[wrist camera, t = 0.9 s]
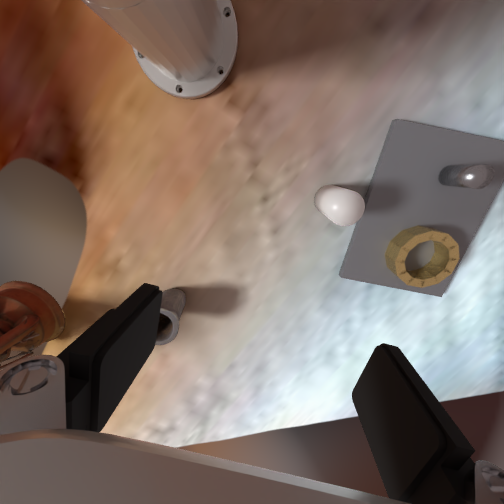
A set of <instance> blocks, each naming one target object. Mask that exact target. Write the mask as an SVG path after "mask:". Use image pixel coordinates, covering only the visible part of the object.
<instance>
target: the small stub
mask: <svg viewBox="0 0 504 504" xmlns="http://www.w3.org/2000/svg"><path fill="white" fill-rule="evenodd" d="M494 175H495V171H494V169H493V167H492V166H490V165H448V166H446V167H444V168H443V169H442V170H441V171H440V173H439V176H438V179H439V182H440V183H441V184H442V185H444V186H453V187H462V188H471V189H482V188H485V187H487V186H488V185H489V184H490V183H491V182H492V180H493V178H494Z"/></svg>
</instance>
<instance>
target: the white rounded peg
mask: <svg viewBox="0 0 504 504" xmlns="http://www.w3.org/2000/svg"><path fill="white" fill-rule="evenodd" d="M314 203H315V206H316V208H317V209H318V210H319V211H320V212H322V213H323V214H324V215H325V216H326V217H328V218H329V219H330V220H331V221H332V222H334V223H335V224H337V225H339V226H349V225H352V224H354V223H356V222H357V221H358V220H359V219H360V218H361V217H362V215H363V213H364V210H365V202H364V199H363V198H362V196H361V195H360V194H359V193H357V192H355V191H352V190H349V189H345V188H342V187H338V186H334V185H325V186H323V187H321V188H320V189H319V190H318V191H317V192H316V194H315V198H314Z"/></svg>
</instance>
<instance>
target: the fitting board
mask: <svg viewBox="0 0 504 504" xmlns="http://www.w3.org/2000/svg"><path fill="white" fill-rule="evenodd" d="M448 165H490V166H492V167H493V169H494V171H495V175H494V178H493V180H492V182H491V183H490V184H489V185H488V186H487V187H485V188H482V189H471V188H462V187H453V186H444V185H442V184H441V183H440V182H439V179H438V176H439V173H440V171H441V170H442V169H443V168H444V167H446V166H448ZM503 181H504V141H502V140H497V139H492V138H487V137H482V136H477V135H472V134H468V133H463V132H458V131H453V130H448V129H443V128H438V127H433V126H428V125H424V124H419V123H414V122H409V121H404V120H399V119H396V120H393V121H392V123H391V126H390V128H389V131H388V134H387V137H386V140H385V143H384V146H383V149H382V151H381V154H380V157H379V160H378V163H377V166H376V169H375V172H374V174H373V177H372V180H371V183H370V186H369V189H368V192H367V195H366V197H365V200H364V202H365V210H364V213H363V215H362V217H361V218H360V219H359V220H358V221H357V223H356V226H355V229H354V232H353V235H352V238H351V241H350V243H349V246H348V249H347V252H346V255H345V258H344V261H343V264H342V266H341V269H340V272H339V275H340V277H341V278H346V279H351V280H356V281H361V282H367V283H372V284H377V285H382V286H387V287H392V288H398V289H403V290H408V291H413V292H418V293H424V294H429V295H434V296H439V297H442V295H443V293H444V291H445V289H446V288H447V286H448V284H449V282H450V280H451V278H452V276H453V274H454V273H455V271H456V269H457V267H458V265H459V263H460V261H461V259H462V258H463V256H464V254H465V252H466V250H467V248H468V246H469V244H470V243H471V241H472V239H473V237H474V235H475V233H476V231H477V229H478V228H479V226H480V224H481V222H482V220H483V218H484V216H485V214H486V213H487V211H488V209H489V207H490V205H491V203H492V201H493V200H494V198H495V196H496V194H497V192H498V190H499V188H500V186H501V185H502V183H503ZM418 225H419V226H424V227H429V228H434V229H436V230H439V231H442V232H445V233H447V234H449V235H450V236H451V237H452V238H453V239H454V240H455V241H456V242H457V243H458V245H459V258H460V259H459V261H458V263H457V265H456V267H455V268H454V270H453V272H452V274H450V275H449V276H448V277H446V278H445V279H444V280H442V281H441V282H440V283H438V284H435V285H431V286H427V287H423V288H420V287H415V286H409V285H406V284H405V283H404V282H403V281H402V280H400V279H399V278H398V277H397V276H396V275H395V274H394V273H393V272H391V271H390V270H389V269H388V268H387V265H386V260H385V252H386V250H387V247H388V245H389V242H390V240H392V239H393V238H394V237H395V236H396V235H397V234H398V233H400V232H401V231H402V230H404V229H408V228H411V227H414V226H418ZM434 252H435V250H434V242H433V241H432V240H429V241H425V242H422V243H419V244H417V245H416V246H415V247H414V248H413V249H411V250H410V251H409V253H408V255H407V257H406V259H405V268H406V270H408V271H413V270H416V269H420V268H422V267H423V266H425V265H426V264H427V263H428V262H430V260H431V258H432V256H433V254H434Z"/></svg>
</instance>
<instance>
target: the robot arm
mask: <svg viewBox="0 0 504 504" xmlns="http://www.w3.org/2000/svg"><path fill="white" fill-rule="evenodd" d="M82 1H83V2H84V3H85V4H86V5H87V6H88V7H89V8H91V9H92V10H93V11H94V12H95V13H96V14H97V15H98V16H99V17H101V18H102V19H103V20H104V21H105V22H106V23H107V24H108V25H109V26H111V27H112V28H113V29H114V30H115V31H116V32H117V33H118V34H119V35H121V36H122V37H123V38H124V39H125V40H126V41H127V42H128V43H129V44H131V45H132V47H133V50H134V53H135V56H136V58H137V61H138V62H139V64H140V66H141V68H142V70H143V71H144V72H145V74H146V75H147V76H148V78H149V79H150V80H151V81H152V82H153V83H154V84H155V85H157V86H158V87H159V88H160V89H162V90H163V91H165V92H166V93H168V94H170V95H172V96H175V97H179V98H182V99H196V98H201V97H204V96H206V95H208V94H210V93H212V92H213V91H214V90H216V89H217V88H218V87H219V86H220V85H221V84H222V83H223V82H224V81H225V79H226V78H227V76H228V75H229V73H230V71H231V69H232V66H233V64H234V61H235V58H236V53H237V48H238V29H237V21H236V17H235V12H234V9H233V6H232V3H231V0H82ZM227 14H229V15H230V16H229V17H226V15H227ZM143 56H144V58H143ZM220 71H223V74H222V75H220ZM180 89H183V90H182V92H181V93H180ZM162 295H163V292H162V291H161V290H159V287H158V286H155V285H151V284H147V283H144V284H143V285H142V286H140V287H139V288H138V289H137V290H136V291H135V292H134V293H133V294H132V295H131V296H129V297H128V298H127V299H126V300H125V301H124V302H123V303H122V304H121V305H120V306H119V307H117V308H116V309H111V310H109V311H108V312H107V313H105V314H104V315H103V316H102V317H101V318H100V319H99V320H97V321H96V322H95V323H94V324H93V325H92V326H91V327H90V328H88V329H87V330H86V331H85V332H84V333H83V334H82V335H80V336H79V337H78V338H77V339H76V340H75V341H74V342H73V343H71V344H70V345H69V346H68V347H67V348H66V349H65V350H63V351H62V352H61V353H60V354H59V355H58V356H57V357H55V356H52V355H36V356H30V357H27V358H23V359H20V360H18V361H16V362H14V363H12V364H10V365H8V366H7V367H5V368H4V369H3V370H1V371H0V504H504V470H502V469H501V468H499V467H498V466H496V465H494V464H492V463H489V462H487V461H482V460H480V461H477V462H476V463H474V462H473V461H472V459H471V458H470V457H471V455H472V454H473V453H474V452H475V450H474V448H473V447H472V446H471V445H470V443H469V442H468V440H467V439H466V438H465V436H464V435H463V433H462V432H461V431H460V429H459V428H458V427H457V425H456V424H455V423H454V421H453V420H452V419H451V417H450V416H449V415H448V413H447V412H446V411H445V409H444V408H443V407H442V405H441V404H440V403H439V401H438V400H437V399H436V397H435V396H434V394H433V393H432V392H431V390H430V389H429V388H428V386H427V385H426V384H425V382H424V381H423V380H422V378H421V377H420V376H419V374H418V373H417V372H416V370H415V369H414V368H413V366H412V365H411V364H410V362H409V361H408V360H407V358H406V357H405V356H404V354H403V353H402V351H401V350H400V349H399V348H398V347H396V346H392V345H388V344H384V343H383V344H381V345H380V346H377V347H376V348H375V349H374V351H373V353H372V355H371V357H370V359H369V361H368V363H367V365H366V366H365V368H364V370H363V372H362V374H361V376H360V378H359V380H358V382H357V384H356V385H355V387H354V389H353V392H352V400H353V403H354V405H355V408H356V411H357V413H358V416H359V419H360V422H361V424H362V427H363V430H364V432H365V435H366V437H367V440H368V443H369V446H370V448H371V451H372V453H373V456H374V459H375V462H376V464H377V467H378V470H379V473H380V475H381V478H382V480H383V483H384V486H385V489H386V491H387V494H388V496H389V498H390V499H389V498H385V497H381V496H377V495H373V494H369V493H365V492H361V491H356V490H352V489H348V488H344V487H340V486H336V485H332V484H327V483H323V482H319V481H315V480H311V479H306V478H302V477H298V476H294V475H289V474H285V473H281V472H277V471H272V470H268V469H264V468H260V467H255V466H251V465H247V464H242V463H238V462H234V461H230V460H225V459H221V458H216V457H212V456H208V455H203V454H199V453H195V452H190V451H186V450H182V449H178V448H173V447H169V446H164V445H160V444H155V443H150V442H145V441H141V440H136V439H131V438H126V437H121V436H117V435H112V434H106V433H99V432H100V431H101V430H102V429H103V427H104V426H105V424H106V423H107V421H108V420H109V418H110V417H111V415H112V413H113V412H114V410H115V409H116V407H117V406H118V404H119V402H120V401H121V399H122V398H123V396H124V395H125V393H126V391H127V390H128V388H129V387H130V385H131V384H132V382H133V381H134V379H135V377H136V376H137V374H138V373H139V371H140V370H141V368H142V366H143V365H144V363H145V362H146V360H147V359H148V357H149V355H150V354H151V352H152V351H153V349H154V346H155V343H156V337H157V330H158V323H159V316H160V309H161V302H162Z"/></svg>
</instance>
